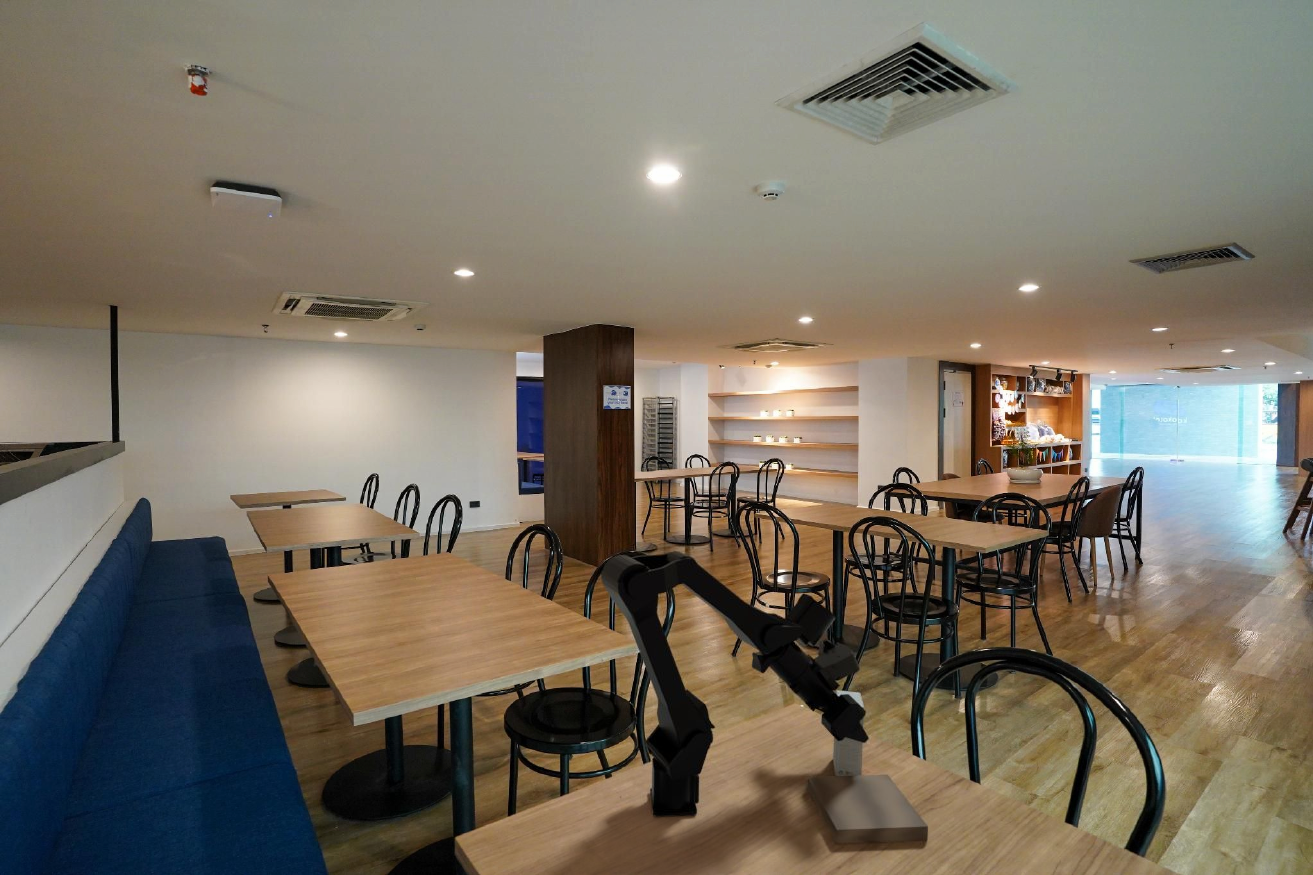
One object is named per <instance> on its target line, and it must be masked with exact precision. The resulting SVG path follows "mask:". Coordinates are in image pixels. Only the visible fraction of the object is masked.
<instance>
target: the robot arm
mask: <svg viewBox="0 0 1313 875" xmlns="http://www.w3.org/2000/svg"><path fill="white" fill-rule="evenodd" d="M600 579H601V583H602V585H603V587H604V589H605V590H606V591H607V593H608V595H609V597H610V599H611V600H612V602H613V603H614V604H615V606H617V608H618V610H620V612H621V613H622V615H623V616H624V617H625V619H626V621H627V624H628V625H629V628H630V631H631V632H632V636H633V638H634V641H635V644H636V646H637V649H638V651H639V654H640V656H641V659H642V661H643V664H644V667H645V669H646V673H647V674H648V677H649V679H650V682H651V684H652V687H653V691H654V693H655V695H656V698H657V710H656V714H657V715H656V716H657V721H658V724H657V725H656V727H655V728H654V729H653V731H652V732H651V733H650V735H649V736H648V737H647V738H646V739H645V740H644V743H645V746H646V750H647V752H648V754H649V755H650V756H652V758H651V761H652V763H651V766H652V768H651V788H650V789H649V790H650V791H649V794H650V801H651V810H652V815H653V816H655V817H668V816H669V817H671V816H695V815H697V814H698V808H697V804H699V801H700V774H701V773H702V770H703V767H704V764H705V761H706V758H707V754H708V752H709V750H710V748H711V745H712V744H713V742H714V734H713V729H716V726H715V724H713V723H712V720H711V718H710V715H709V710H708V707H707V705H706V703H705V702H703V701H702V700H701V699H699V697H697V696H696V695H695V694H694V693H692V692H691V691H690V690H689V689H686V687H685V684H684V681H683V679H682V677H681V674H680V672H679V668H678V665H677V662H676V661H675V658H674V655H673V652H672V649H671V647H670V643H669V642H668V639H667V636H666V633H665V631H664V629H663V625H662V623H661V620H660V618H659V615H658V607H659V599H660V597H659V595H661V594H664V593H667V592H669V591H671V590H672V589H674V588H676V587H677V586H679V585H682V586H683V587H684V588H685V589H687V590H688V591H690V593H692V594H694V595H695V596H696V597H697V598H698V599H700V600H701V601H703V603H705V604H706V605H708V607H710V608H711V609H712V610H714V611H715V612H716V613H718V614H719V615H720V616H721V617H722V618H723V619H724V620H725V622H726V624H727V626H728V627H729V629H730V630H731V631H732V632H733V633H734V634H735V635H736V636H737V638H738V639H740V641H741V642H744V643H745V644H747V645H749V646H751V647H752V648H754V649H755V650H757V652H752V654H751V656H752V659H751V660H752V661H751V667H752V669H753V670H756V671H758V672H759V673H761V674H765V673H766V672H767V670H768V669H769V668H770V669H771V671H772V672H774V673H775V674H776V675H777V677H779V678H780V679H781V680H782V681H783V682H784V684H786V686H787V687H788V688H789V689H790V690H791V691H792V692H793V693H794V694H795V695H796V696H797V697H799V698H800V699H801V700H802V701H803V702H804V704H805V706H807V707H808V709H810V710H811V711H812V712H814V711H815V710H818V711H819V712H822V714H821V722H820V723H821V725H822V726H823V727H824V728H825V729H826V730H827V731H828V733H829V734H830V735H831V736H832V737H833V739H834V738H835V739H836V740H837V741H842V740H843V739H844V738H845V737H846V738H849V739H853V740H856V741H859V742H863V744H865V743H867V741H868V740H870V739H869V738H870V737H869V735H868V734H867V732H866V730H865V729H864V726H863V727H862V725H861V723H860V721H861V720H862V719H863V718H865V717H866V713H867V711H866V710H865V708H864V709H863V708H862V707H861V706H860V705H859V704H858V703H857V702H856V701H855V700H854V699H853V698H852V697H851V696H850V695H849V694H841V695H840V696H838V695H837V694H836V690H837V689H839V687H840V686H841V685H840V684H839V683H838V681H840V680H843V679H845V678H847V677H849V676H850V675H852V674H856V673H858V672H859V671H860V668H861V667H860V665H859V663H858V660H857V658H856V656H855V654H854V652H853V650H852V649H851V648H850V647H849V646H847V645H846V644H843V643H839V642H836V644H834V643H833V642H831V641H830V640H829V639H828V638H824V639H822V640H821V641H820V639H821V638H822V637H823V635H824V634H825V633H826V632H827V630H828V629H829V628H830V626H831V625H832V624H833V622H834V621H835V620H836V617H835V615H834V614H833V612H832V611H831V610H830V609H828V608H826V607H825V606H824V605H822V603H820V602H819V601H817V600H816V599H814V597H813V596H812V595H810V594H808V593H805V592H803V593H802V594H801V595H800V597H799V598H798V599H797V602H796V603H795V604H794V606H793V607H792V608H791V610H790V611H789V612H788V614H787V615H786V616H785V617H783V616H781V615H779V614H777V613H775V612H773V613H772V612H770V613H769V612H765V611H764V610H762V609H760V608H758V607H756V606H753V605H752V604H750V603H748V602H745V600H743V599H742V598H741V597H739V596H738V595H737V594H736V592H733V591H732V590H731V589H729V587H727V586H726V585H724V583H722V582H721V581H720V580H718V579H717V578H716V577H715V576H713V575H712V574H710V572H709V571H708V570H706V569H705V568H704V567H702V566H701V565H700V564H698V562H697V561H696V559H695V558H694V557H692V556H690V555H689V554H688V555H687V554H686V553H684V552H682V551H680V550H679V551H676V550H675V551H674V550H673V551H671V552H670V551H669V552H664V553H660V554H647V555H646V554H645V555H636V556H632V557H630V556H629V555H625V554H617V555H615V556H613V557H611V558H610V559H609V560H607V562H606V563H605V564H604V566H603V569H602V571H601V574H600ZM818 642H819V643H818ZM797 643H798V644H799V645H801V646H802V647H807V646H808V645H809V646H811V647H812V648H814V647H815V646H816V645H817V644H818V645H819V646H818V647H819V648H818V652H817V656H816V657H815V658H814V657H812V656H811V655H810V654H807V653H806V652H805V651H804V650H803V649H802V648H801V647H800V646H799V645H798V644H797Z"/></svg>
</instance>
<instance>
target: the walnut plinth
mask: <svg viewBox="0 0 1313 875" xmlns="http://www.w3.org/2000/svg"><path fill="white" fill-rule="evenodd" d="M806 790H807V791H808V794H809V795H810V797H811V799H812V801H813V802H814V805H815V806H816V808H817V810H818V812H819V814H820V816H821V818H822V820H823V822H824V823H825V825H826V827H827V828H828V831H829V833H830V834H831V836H832V838H833V839H834V840H833V841H834V842H835V844H837V845H838V844H839V845H842V844H844V845H845V844H865V843H868V844H870V843H895V842H898V843H899V842H915V841H916V842H918V841H928V838H929V835H928V833H929V826H928V824H927V822H925V820H924V819H923V818H922V817H921V815H920V814H919V813H918V812H917V810H916V809H915V807H914V806H913V805H912V804H911V802H910V801H909V800H908V799H907V797H906V796H905V795H904V793H903V792H902V791H901V790H900V788H899V787H898V786H897V785H896V782H894V780H892V778H891V777H890V775H889V774H865V775H864V774H863V775H857V776H835V775H834V776H833V775H832V776H831V775H830V776H829V775H828V776H827V775H826V776H807V788H806Z"/></svg>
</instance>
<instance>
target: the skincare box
mask: <svg viewBox="0 0 1313 875" xmlns="http://www.w3.org/2000/svg"><path fill="white" fill-rule="evenodd" d="M835 693H836V694H837V695H838V696H840V695H841V694H849V695H850V696H851V697H852V698H853V699H854V700H855V701H856V702H857V703H858V704H859V705H860V706H861V707H862V708H863V709H864V710H865V706H864V705H865V704H864V702H863V698H862V695H861V692H855V691H847V690H837V689H836V690H835ZM864 718H865V717H864ZM864 718H863V719H862V720H861V721H860V723H861V725H862V727H863V728H864V720H865V719H864ZM863 744H864V743H863V742H859V741H856V740H853V739H849V738H846V737H845V738H844V739H843V740H842V741H837V740H836V739H835V738H834V737H833V751H832V752H833V753H832V760H833V768H834V776H857V775H862V769H863V749H864V748H863V746H864V745H863Z"/></svg>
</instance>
